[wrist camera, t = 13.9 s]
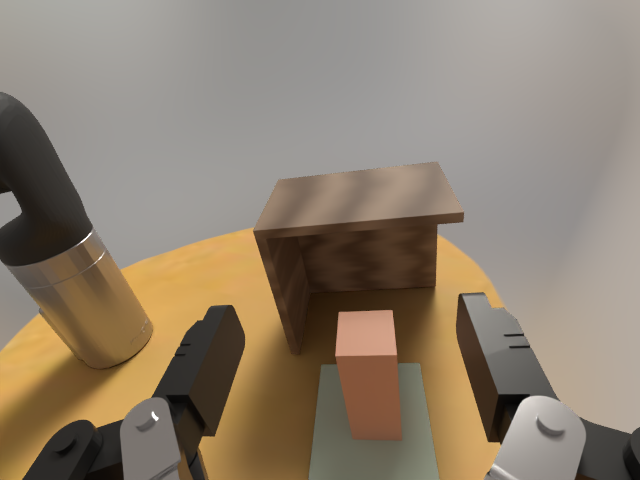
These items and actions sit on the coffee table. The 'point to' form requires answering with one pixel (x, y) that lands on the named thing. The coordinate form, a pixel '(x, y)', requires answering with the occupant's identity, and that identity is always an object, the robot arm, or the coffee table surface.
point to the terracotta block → (369, 374)
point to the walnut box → (352, 235)
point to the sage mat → (372, 455)
